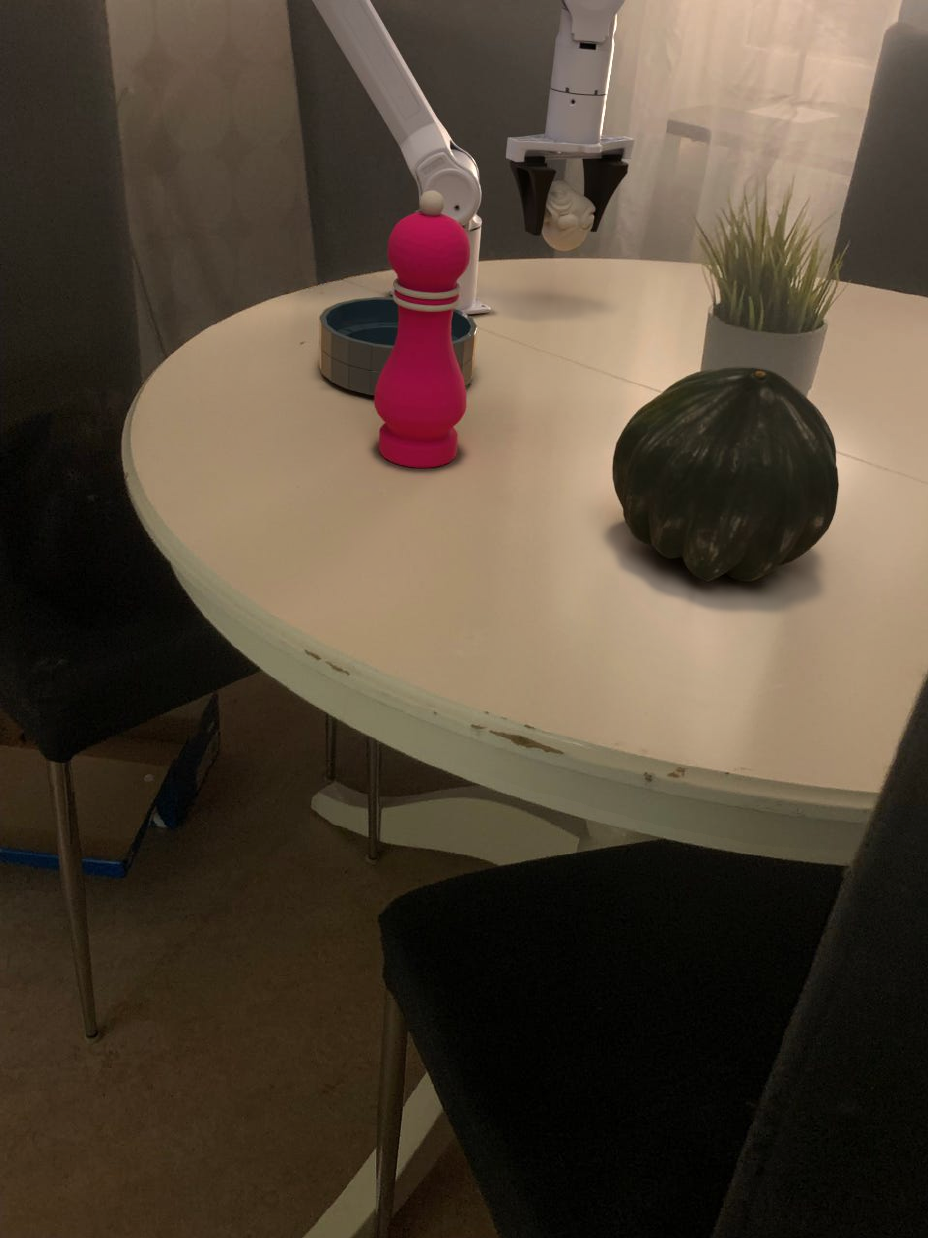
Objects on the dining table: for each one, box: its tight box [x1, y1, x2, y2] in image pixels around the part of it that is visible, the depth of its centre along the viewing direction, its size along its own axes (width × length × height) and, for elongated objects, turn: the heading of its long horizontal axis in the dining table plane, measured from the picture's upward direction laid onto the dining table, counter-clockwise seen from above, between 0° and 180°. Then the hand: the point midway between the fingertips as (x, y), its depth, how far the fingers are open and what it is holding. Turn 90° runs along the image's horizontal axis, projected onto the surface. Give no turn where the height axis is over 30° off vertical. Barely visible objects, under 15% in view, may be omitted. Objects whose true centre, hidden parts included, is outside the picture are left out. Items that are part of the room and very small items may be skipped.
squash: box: [611, 365, 840, 582], centre depth 73 cm, size 14×15×15 cm
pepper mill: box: [373, 190, 470, 469], centre depth 81 cm, size 7×7×20 cm
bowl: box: [318, 296, 478, 396], centre depth 99 cm, size 14×14×5 cm
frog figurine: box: [541, 179, 595, 252], centre depth 114 cm, size 6×7×7 cm
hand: (560, 231), depth 115 cm, fingers closed on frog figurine, 7 cm apart
